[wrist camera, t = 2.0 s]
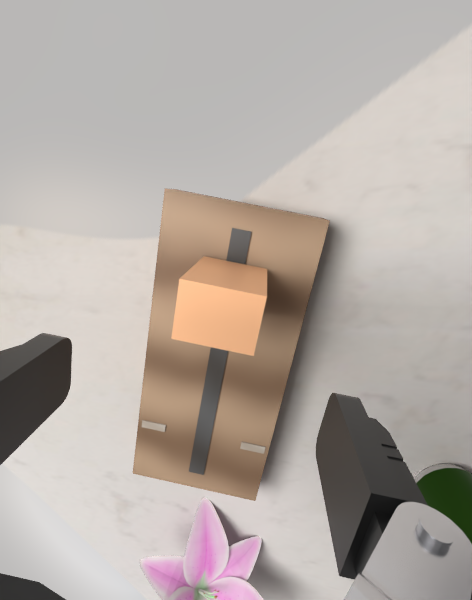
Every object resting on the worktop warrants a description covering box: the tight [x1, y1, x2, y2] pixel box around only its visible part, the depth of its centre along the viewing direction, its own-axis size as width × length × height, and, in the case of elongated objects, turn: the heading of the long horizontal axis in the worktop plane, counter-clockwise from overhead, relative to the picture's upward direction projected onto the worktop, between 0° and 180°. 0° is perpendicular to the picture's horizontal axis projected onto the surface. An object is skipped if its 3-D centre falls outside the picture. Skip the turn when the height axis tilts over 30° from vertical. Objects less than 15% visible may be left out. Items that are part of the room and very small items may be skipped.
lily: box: [140, 497, 264, 600], centre depth 28 cm, size 12×12×10 cm
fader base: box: [133, 189, 330, 501], centre depth 24 cm, size 22×10×3 cm, turn 170°
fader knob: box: [171, 256, 267, 356], centre depth 18 cm, size 3×4×6 cm
